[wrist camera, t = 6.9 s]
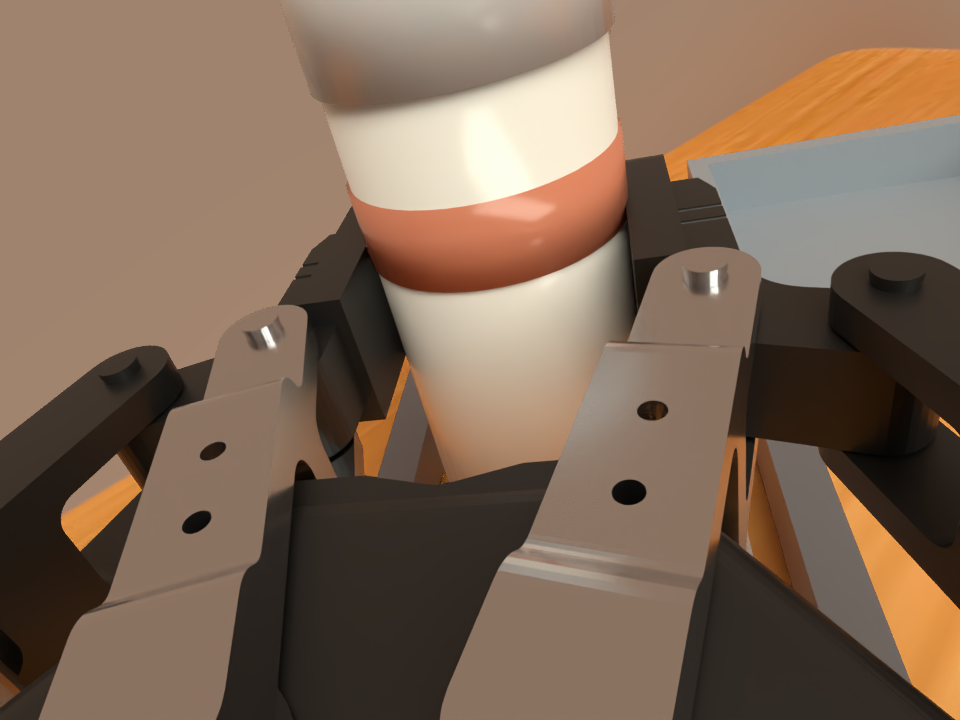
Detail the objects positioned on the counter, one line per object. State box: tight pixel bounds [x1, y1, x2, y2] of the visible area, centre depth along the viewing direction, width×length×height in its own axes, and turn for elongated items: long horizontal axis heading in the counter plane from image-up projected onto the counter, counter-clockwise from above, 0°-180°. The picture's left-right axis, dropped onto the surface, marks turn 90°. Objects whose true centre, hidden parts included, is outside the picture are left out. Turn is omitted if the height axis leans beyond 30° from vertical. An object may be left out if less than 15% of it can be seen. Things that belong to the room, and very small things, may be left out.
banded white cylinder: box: [279, 0, 637, 483], centre depth 13 cm, size 4×4×14 cm
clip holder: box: [378, 368, 912, 685], centre depth 20 cm, size 12×18×2 cm
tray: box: [687, 115, 960, 288], centre depth 26 cm, size 14×14×3 cm
